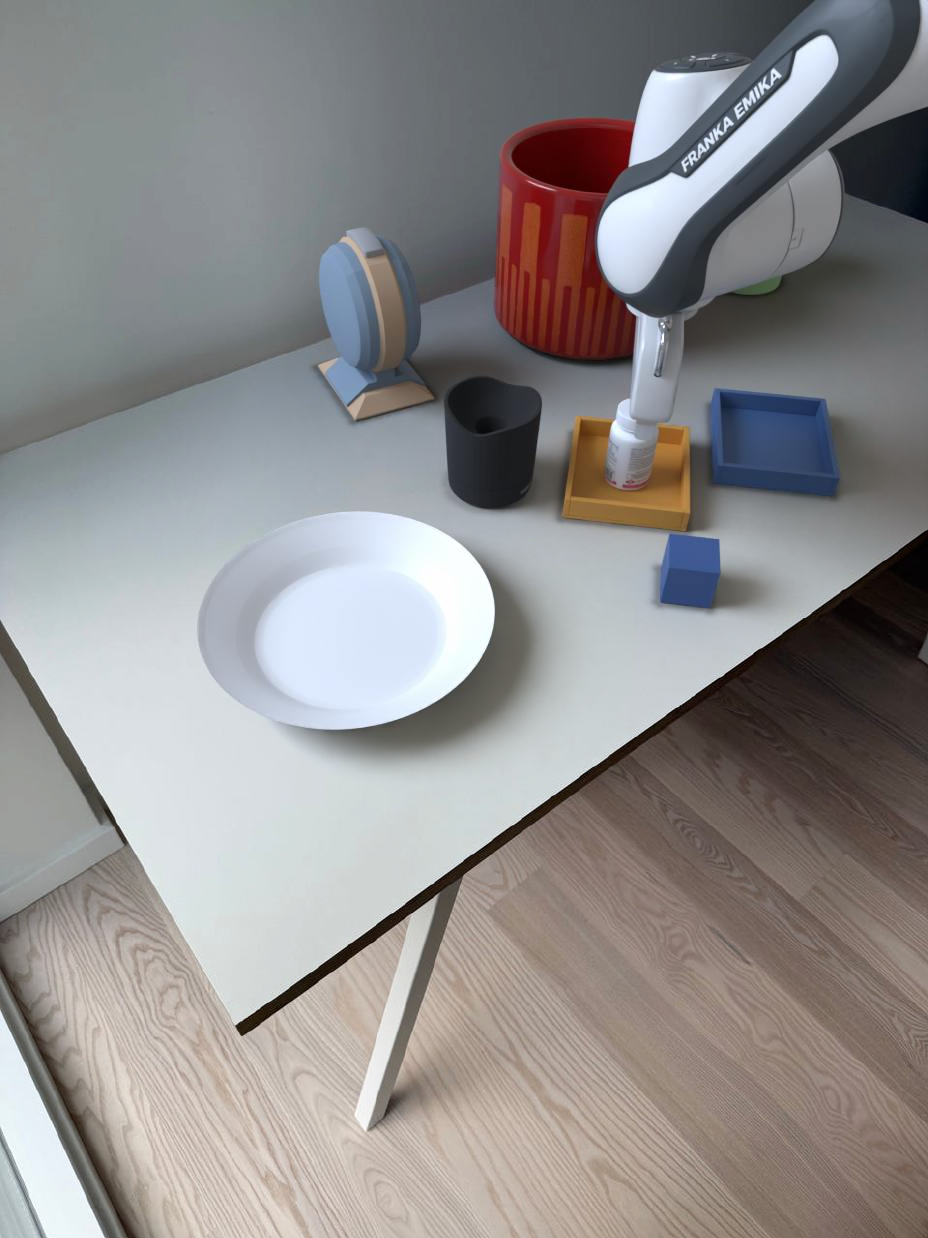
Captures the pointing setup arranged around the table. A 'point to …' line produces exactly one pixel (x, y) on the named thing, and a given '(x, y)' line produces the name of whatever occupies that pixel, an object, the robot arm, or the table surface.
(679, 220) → the robot arm
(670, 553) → the blue block
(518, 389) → the pen holder
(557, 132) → the planter
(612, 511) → the amber tray
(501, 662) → the table surface
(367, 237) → the alarm clock
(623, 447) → the pill bottle
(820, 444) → the blue tray
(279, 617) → the white plate
